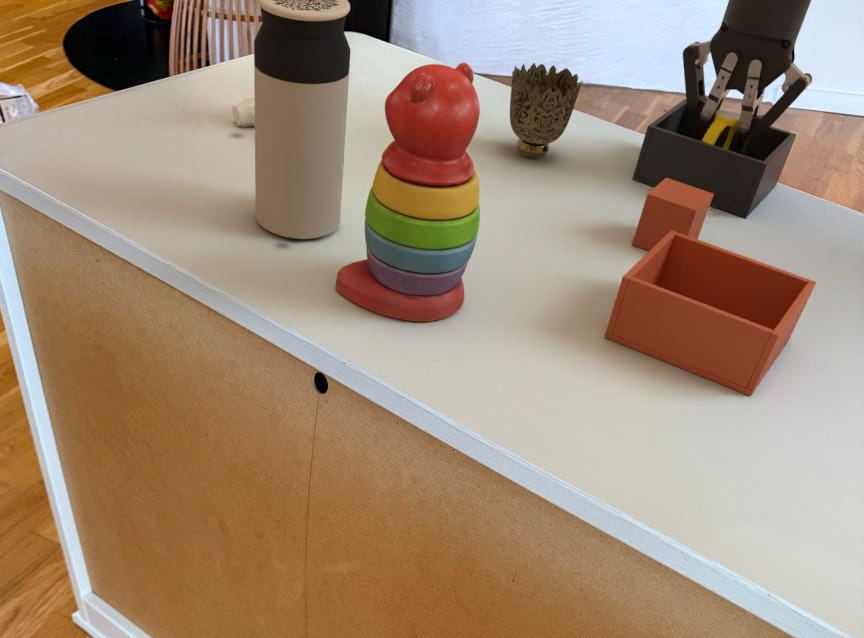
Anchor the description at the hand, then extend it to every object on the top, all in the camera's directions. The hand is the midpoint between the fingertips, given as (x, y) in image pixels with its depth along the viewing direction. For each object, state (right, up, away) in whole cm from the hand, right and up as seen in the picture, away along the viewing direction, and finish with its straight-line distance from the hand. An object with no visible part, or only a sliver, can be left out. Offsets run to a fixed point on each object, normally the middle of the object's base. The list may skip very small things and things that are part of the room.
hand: (713, 160), depth 101 cm
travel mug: (-44, -13, -14) cm, 48 cm away
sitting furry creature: (-47, +3, 0) cm, 47 cm away
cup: (-20, +2, +2) cm, 20 cm away
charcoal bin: (0, -2, +2) cm, 2 cm away
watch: (0, -1, +1) cm, 1 cm away
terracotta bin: (-9, -26, -21) cm, 35 cm away
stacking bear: (-34, -23, -21) cm, 46 cm away
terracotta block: (-8, -13, -9) cm, 18 cm away
